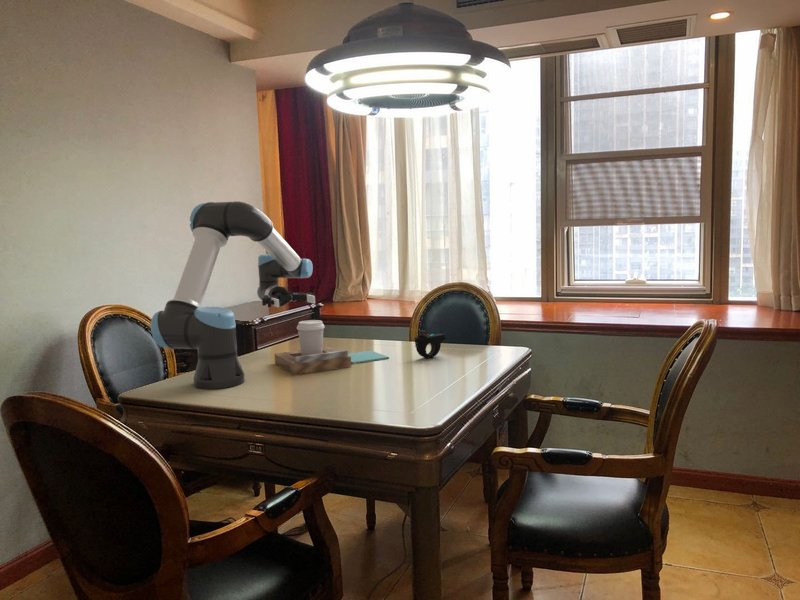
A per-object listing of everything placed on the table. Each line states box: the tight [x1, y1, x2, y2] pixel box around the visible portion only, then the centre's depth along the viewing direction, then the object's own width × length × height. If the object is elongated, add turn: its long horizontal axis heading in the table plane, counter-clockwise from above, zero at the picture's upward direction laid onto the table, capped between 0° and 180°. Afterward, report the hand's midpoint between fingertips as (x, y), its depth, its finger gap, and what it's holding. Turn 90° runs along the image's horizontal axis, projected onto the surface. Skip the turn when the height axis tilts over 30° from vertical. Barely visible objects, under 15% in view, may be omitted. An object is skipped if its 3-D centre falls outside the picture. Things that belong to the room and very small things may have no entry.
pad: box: [348, 350, 390, 365], centre depth 228 cm, size 14×14×1 cm
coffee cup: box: [296, 319, 326, 356], centre depth 218 cm, size 10×10×15 cm
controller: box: [414, 329, 447, 359], centre depth 224 cm, size 4×12×10 cm, turn 125°
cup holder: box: [274, 346, 352, 375], centre depth 218 cm, size 20×20×6 cm
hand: (296, 301), depth 228 cm, fingers open, 13 cm apart
